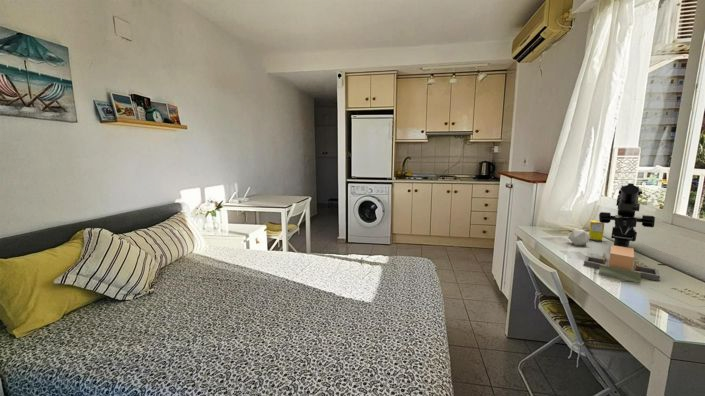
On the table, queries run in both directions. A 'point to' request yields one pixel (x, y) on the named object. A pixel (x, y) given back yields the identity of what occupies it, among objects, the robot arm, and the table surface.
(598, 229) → the supplement box
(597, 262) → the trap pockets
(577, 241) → the die
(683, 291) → the table surface
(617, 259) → the orange tan rectangular block
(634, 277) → the small wooden bench
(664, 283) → the table surface
